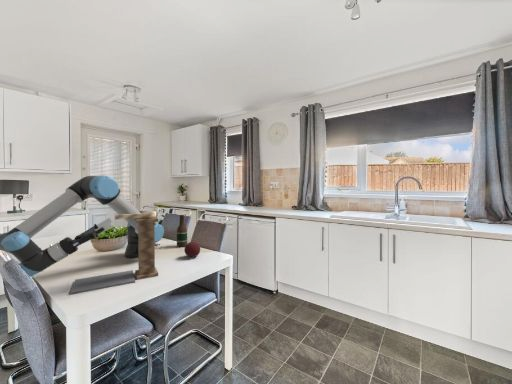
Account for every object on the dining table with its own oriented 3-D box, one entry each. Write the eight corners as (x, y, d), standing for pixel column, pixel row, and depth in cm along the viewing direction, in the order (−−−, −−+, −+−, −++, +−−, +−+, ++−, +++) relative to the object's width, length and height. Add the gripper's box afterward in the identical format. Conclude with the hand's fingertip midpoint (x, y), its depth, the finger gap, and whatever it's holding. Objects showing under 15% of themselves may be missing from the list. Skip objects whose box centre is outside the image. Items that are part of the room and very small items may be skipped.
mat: (70, 294, 102) (70, 292, 102) (75, 281, 116) (75, 279, 116) (135, 282, 115) (135, 280, 115) (132, 271, 129) (132, 270, 129)
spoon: (115, 221, 114) (114, 215, 113) (114, 219, 120) (114, 213, 119) (157, 218, 123) (157, 212, 123) (155, 216, 129) (155, 211, 129)
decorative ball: (202, 255, 159) (202, 240, 158) (195, 260, 149) (195, 244, 149) (189, 254, 161) (189, 239, 161) (181, 258, 151) (181, 243, 151)
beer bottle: (178, 245, 184) (178, 214, 183) (188, 244, 184) (188, 214, 183) (175, 247, 176) (175, 215, 175) (186, 247, 177) (186, 215, 176)
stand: (136, 279, 118) (136, 220, 117) (135, 273, 127) (134, 217, 126) (158, 275, 124) (158, 218, 122) (155, 269, 132) (155, 216, 131)
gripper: (52, 248, 95) (105, 219, 104) (63, 236, 116) (107, 212, 125) (64, 263, 97) (116, 233, 106) (73, 248, 119) (115, 224, 128)
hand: (111, 221), depth 116 cm, fingers open, 13 cm apart
